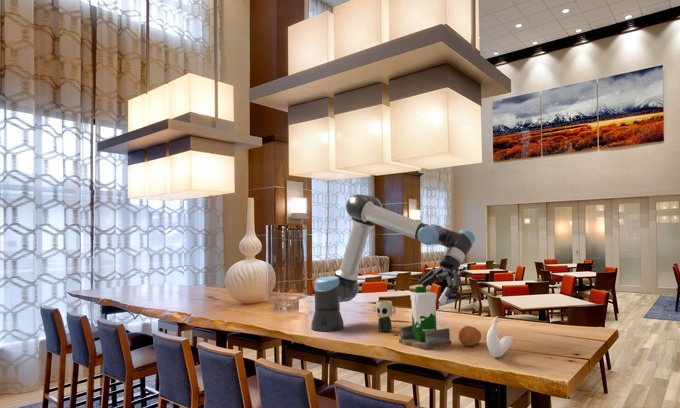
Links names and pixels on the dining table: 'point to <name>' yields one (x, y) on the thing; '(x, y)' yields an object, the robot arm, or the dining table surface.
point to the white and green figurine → (384, 314)
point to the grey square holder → (431, 338)
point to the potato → (469, 336)
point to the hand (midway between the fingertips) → (427, 300)
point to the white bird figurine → (497, 341)
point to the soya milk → (423, 313)
